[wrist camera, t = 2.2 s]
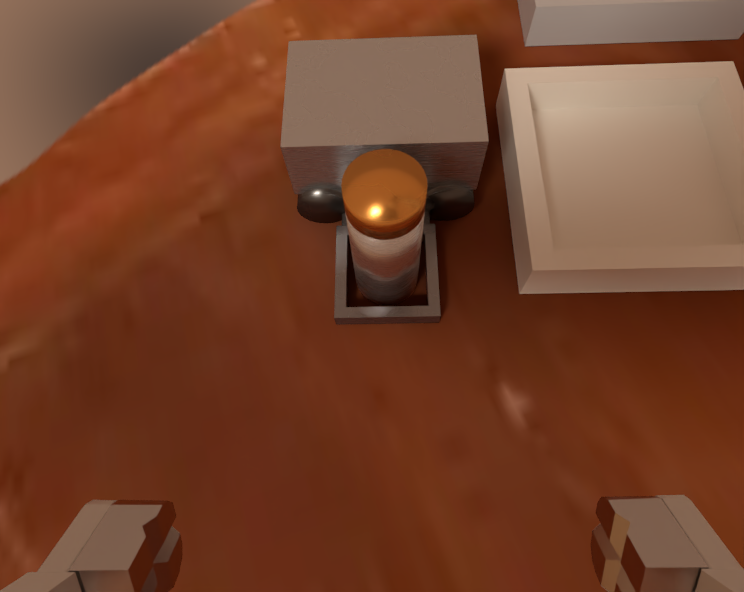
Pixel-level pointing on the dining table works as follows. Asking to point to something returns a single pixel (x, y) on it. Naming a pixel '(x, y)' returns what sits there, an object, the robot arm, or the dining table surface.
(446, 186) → the wheeled grey cart
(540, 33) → the parts bin
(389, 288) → the jar with orange lid
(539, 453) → the dining table surface
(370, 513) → the dining table surface
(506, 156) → the tray
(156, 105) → the dining table surface
